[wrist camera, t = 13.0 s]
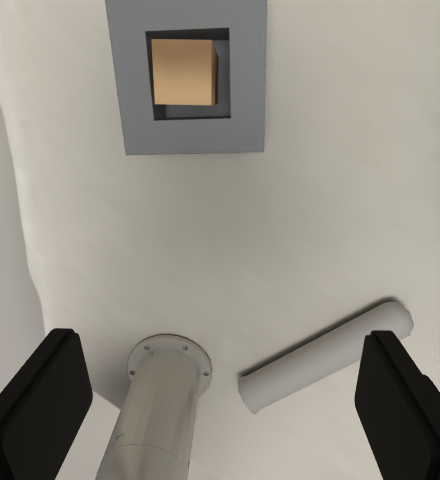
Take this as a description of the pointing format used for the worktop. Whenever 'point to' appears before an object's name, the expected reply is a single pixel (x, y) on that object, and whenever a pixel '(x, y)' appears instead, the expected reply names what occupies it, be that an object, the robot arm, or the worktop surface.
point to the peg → (185, 72)
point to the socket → (229, 75)
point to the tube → (321, 356)
